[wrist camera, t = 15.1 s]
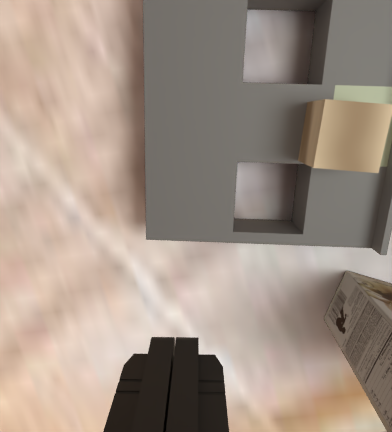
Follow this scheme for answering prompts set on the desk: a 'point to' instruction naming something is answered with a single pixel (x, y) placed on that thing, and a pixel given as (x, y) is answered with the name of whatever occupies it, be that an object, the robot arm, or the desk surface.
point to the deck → (259, 123)
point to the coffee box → (366, 336)
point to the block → (345, 135)
